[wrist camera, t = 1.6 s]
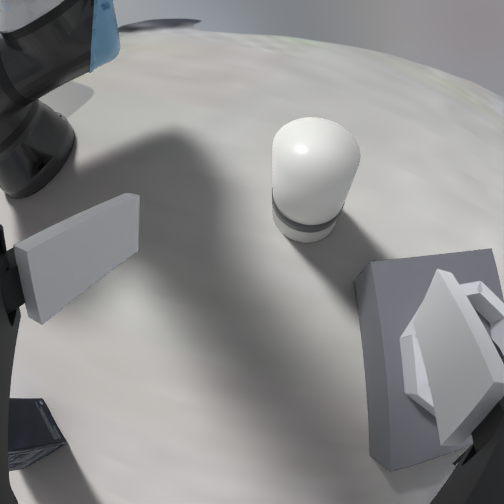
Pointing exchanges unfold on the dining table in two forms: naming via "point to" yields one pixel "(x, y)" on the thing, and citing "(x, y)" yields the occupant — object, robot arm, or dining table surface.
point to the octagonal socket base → (413, 348)
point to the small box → (30, 432)
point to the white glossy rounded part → (311, 177)
